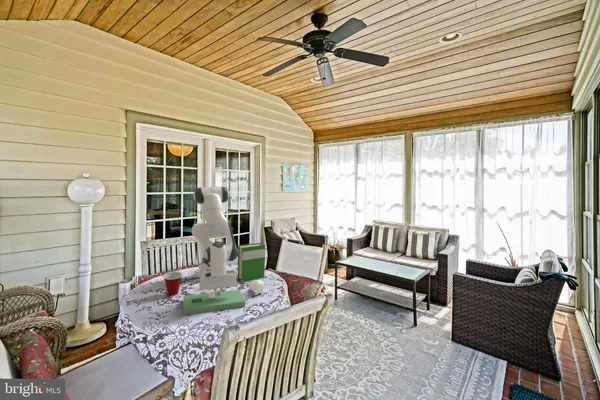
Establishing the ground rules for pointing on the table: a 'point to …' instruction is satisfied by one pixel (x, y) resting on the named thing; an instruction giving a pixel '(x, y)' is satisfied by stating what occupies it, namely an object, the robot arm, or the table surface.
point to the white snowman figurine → (257, 287)
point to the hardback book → (251, 261)
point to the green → (212, 302)
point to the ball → (211, 295)
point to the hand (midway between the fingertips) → (218, 295)
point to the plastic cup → (172, 282)
